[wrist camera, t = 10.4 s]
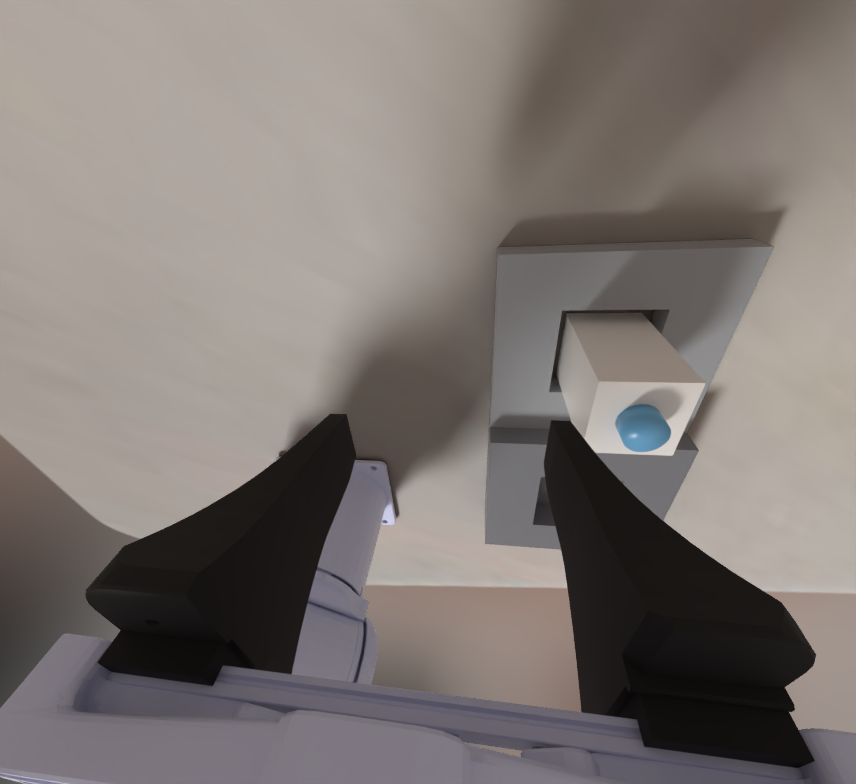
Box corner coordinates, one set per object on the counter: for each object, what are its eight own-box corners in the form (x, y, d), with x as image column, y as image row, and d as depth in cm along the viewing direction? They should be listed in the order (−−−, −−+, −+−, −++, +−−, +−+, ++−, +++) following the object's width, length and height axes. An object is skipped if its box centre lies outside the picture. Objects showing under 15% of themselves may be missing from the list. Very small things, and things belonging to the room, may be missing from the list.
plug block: (556, 373, 23) (586, 467, 16) (566, 313, 20) (605, 395, 14) (623, 374, 22) (682, 472, 16) (641, 312, 20) (719, 397, 13)
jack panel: (484, 512, 31) (485, 543, 29) (497, 247, 19) (500, 263, 16) (631, 521, 30) (645, 555, 27) (753, 238, 17) (798, 255, 15)
